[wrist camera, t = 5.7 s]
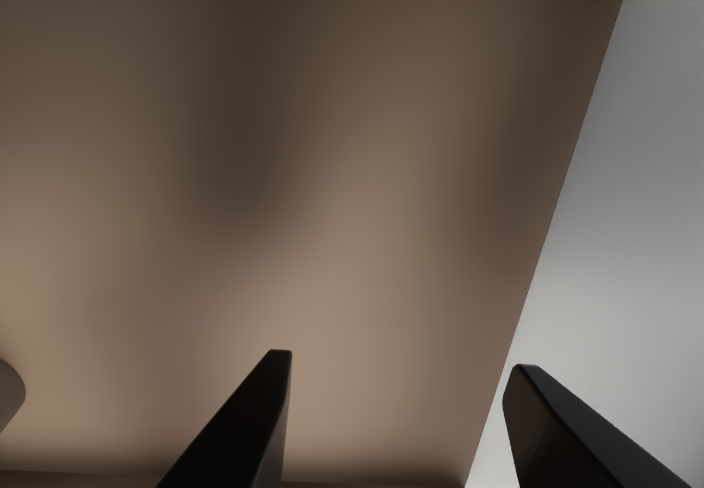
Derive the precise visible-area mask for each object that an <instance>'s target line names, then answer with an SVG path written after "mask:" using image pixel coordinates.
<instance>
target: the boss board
mask: <svg viewBox="0 0 704 488" xmlns="http://www.w3.org/2000/svg"><path fill="white" fill-rule="evenodd" d="M621 3H622V0H0V488H153V487H154V486H155V485H156V484H157V482H158V481H159V480H160V479H161V478H162V476H163V475H164V474H165V473H166V472H167V470H168V469H169V468H170V467H171V466H172V465H173V463H174V462H175V461H176V460H177V459H178V457H179V456H180V455H181V454H182V453H183V451H184V450H185V449H186V448H187V447H188V446H189V444H190V443H191V442H192V441H193V440H194V438H195V437H196V436H197V435H198V434H199V432H200V431H201V430H202V429H203V428H204V427H205V425H206V424H207V423H208V422H209V421H210V419H211V418H212V417H213V416H214V415H215V413H216V412H217V411H218V410H219V409H220V408H221V406H222V405H223V404H224V403H225V402H226V400H227V399H228V398H229V397H230V396H231V394H232V393H233V392H234V391H235V390H236V389H237V387H238V386H239V385H240V384H241V383H242V381H243V380H244V379H245V378H246V377H247V375H248V374H249V373H250V372H251V371H252V370H253V368H254V367H255V366H256V365H257V364H258V362H259V361H260V360H261V359H262V358H263V356H264V355H265V354H266V353H267V352H268V351H269V350H270V349H283V350H290V351H292V355H293V357H292V374H291V389H290V400H289V410H288V420H287V430H286V440H285V450H284V461H283V469H282V476H281V482H280V487H279V488H465V484H466V481H467V478H468V475H469V472H470V469H471V466H472V463H473V460H474V457H475V454H476V451H477V447H478V444H479V441H480V438H481V435H482V432H483V429H484V426H485V423H486V420H487V417H488V414H489V410H490V407H491V404H492V401H493V398H494V395H495V392H496V389H497V386H498V383H499V380H500V377H501V373H502V370H503V367H504V364H505V361H506V358H507V355H508V352H509V349H510V346H511V343H512V340H513V336H514V333H515V330H516V327H517V324H518V321H519V318H520V315H521V312H522V309H523V306H524V303H525V299H526V296H527V293H528V290H529V287H530V284H531V281H532V278H533V275H534V272H535V269H536V266H537V262H538V259H539V256H540V253H541V250H542V247H543V244H544V241H545V238H546V235H547V232H548V229H549V225H550V222H551V219H552V216H553V213H554V210H555V207H556V204H557V201H558V198H559V195H560V192H561V188H562V185H563V182H564V179H565V176H566V173H567V170H568V167H569V164H570V161H571V158H572V154H573V151H574V148H575V145H576V142H577V139H578V136H579V133H580V130H581V127H582V124H583V121H584V117H585V114H586V111H587V108H588V105H589V102H590V99H591V96H592V93H593V90H594V87H595V84H596V80H597V77H598V74H599V71H600V68H601V65H602V62H603V59H604V56H605V53H606V50H607V47H608V43H609V40H610V37H611V34H612V31H613V28H614V25H615V22H616V19H617V16H618V13H619V10H620V6H621Z"/></svg>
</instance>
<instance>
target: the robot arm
mask: <svg viewBox="0 0 704 488" xmlns="http://www.w3.org/2000/svg"><path fill="white" fill-rule="evenodd" d="M292 357H293V355H292V351H290V350H283V349H270V350H269V351H268V352H267V353H266V354H265V355H264V356H263V358H262V359H261V360H260V361H259V362H258V364H257V365H256V366H255V367H254V368H253V370H252V371H251V372H250V373H249V374H248V375H247V377H246V378H245V379H244V380H243V381H242V383H241V384H240V385H239V386H238V387H237V389H236V390H235V391H234V392H233V393H232V394H231V396H230V397H229V398H228V399H227V400H226V402H225V403H224V404H223V405H222V406H221V408H220V409H219V410H218V411H217V412H216V413H215V415H214V416H213V417H212V418H211V419H210V421H209V422H208V423H207V424H206V425H205V427H204V428H203V429H202V430H201V431H200V432H199V434H198V435H197V436H196V437H195V438H194V440H193V441H192V442H191V443H190V444H189V446H188V447H187V448H186V449H185V450H184V451H183V453H182V454H181V455H180V456H179V457H178V459H177V460H176V461H175V462H174V463H173V465H172V466H171V467H170V468H169V469H168V470H167V472H166V473H165V474H164V475H163V476H162V478H161V479H160V480H159V481H158V482H157V484H156V485H155V486H154V487H153V488H279V487H280V482H281V476H282V469H283V461H284V450H285V440H286V430H287V420H288V410H289V400H290V389H291V374H292ZM502 406H503V412H504V417H505V422H506V426H507V431H508V436H509V440H510V445H511V450H512V454H513V459H514V464H515V468H516V473H517V477H518V482H519V486H520V488H692V487H691V486H690V485H689V484H687V483H686V482H685V481H683V480H682V479H681V478H680V477H678V476H677V475H676V474H675V473H673V472H672V471H671V470H670V469H668V468H667V467H666V466H664V465H663V464H662V463H661V462H659V461H658V460H657V459H656V458H654V457H653V456H652V455H651V454H649V453H648V452H647V451H645V450H644V449H643V448H642V447H640V446H639V445H638V444H637V443H635V442H634V441H633V440H632V439H630V438H629V437H628V436H626V435H625V434H624V433H623V432H621V431H620V430H619V429H618V428H616V427H615V426H614V425H613V424H611V423H610V422H609V421H607V420H606V419H605V418H604V417H602V416H601V415H600V414H599V413H597V412H596V411H595V410H594V409H592V408H591V407H590V406H588V405H587V404H586V403H585V402H583V401H582V400H581V399H580V398H578V397H577V396H576V395H575V394H573V393H572V392H571V391H569V390H568V389H567V388H566V387H564V386H563V385H562V384H561V383H559V382H558V381H557V380H556V379H554V378H553V377H552V376H550V375H549V374H548V373H547V372H545V371H544V370H543V369H542V368H540V367H539V366H537V365H528V364H517V365H515V366H514V367H513V369H512V371H511V374H510V377H509V380H508V383H507V386H506V389H505V391H504V395H503V400H502Z"/></svg>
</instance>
